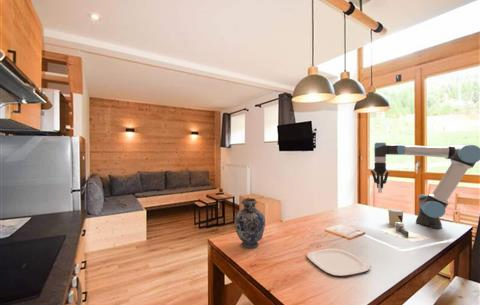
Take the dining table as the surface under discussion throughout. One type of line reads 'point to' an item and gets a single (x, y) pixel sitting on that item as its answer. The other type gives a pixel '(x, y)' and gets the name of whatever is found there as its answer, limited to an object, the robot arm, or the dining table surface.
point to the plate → (337, 262)
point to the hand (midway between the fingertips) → (380, 192)
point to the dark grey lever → (401, 228)
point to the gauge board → (411, 236)
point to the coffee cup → (395, 216)
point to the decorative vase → (249, 224)
